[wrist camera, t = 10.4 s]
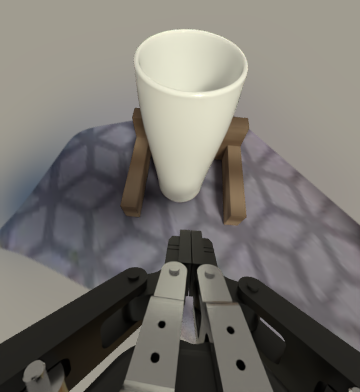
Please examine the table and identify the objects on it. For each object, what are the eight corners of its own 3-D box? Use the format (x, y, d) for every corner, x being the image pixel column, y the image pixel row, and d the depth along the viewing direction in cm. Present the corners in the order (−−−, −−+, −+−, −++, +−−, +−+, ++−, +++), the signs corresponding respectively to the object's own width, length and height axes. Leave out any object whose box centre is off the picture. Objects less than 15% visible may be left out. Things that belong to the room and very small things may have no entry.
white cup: (175, 155, 26) (181, 16, 13) (215, 182, 24) (270, 55, 11) (142, 188, 24) (105, 58, 10) (184, 220, 22) (207, 116, 8)
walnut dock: (237, 225, 22) (258, 205, 17) (126, 215, 22) (111, 192, 16) (232, 151, 27) (248, 118, 21) (142, 143, 27) (134, 107, 21)
